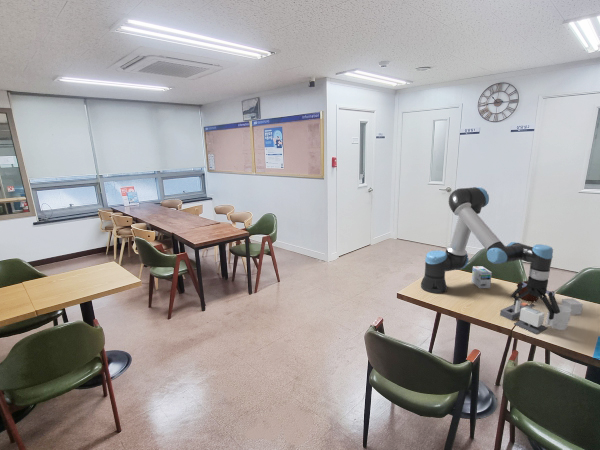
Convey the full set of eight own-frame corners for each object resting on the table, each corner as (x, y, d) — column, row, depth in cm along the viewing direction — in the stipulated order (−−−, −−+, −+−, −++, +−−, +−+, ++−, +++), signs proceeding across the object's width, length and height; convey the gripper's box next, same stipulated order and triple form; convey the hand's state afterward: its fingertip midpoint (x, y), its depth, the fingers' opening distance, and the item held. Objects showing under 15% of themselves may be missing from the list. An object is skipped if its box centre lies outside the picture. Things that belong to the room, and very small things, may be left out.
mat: (513, 324, 158) (513, 323, 157) (524, 319, 162) (525, 317, 162) (536, 334, 149) (536, 333, 149) (547, 328, 154) (547, 327, 153)
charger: (518, 322, 158) (521, 308, 156) (524, 320, 160) (526, 305, 158) (536, 330, 151) (539, 315, 149) (542, 327, 153) (544, 312, 151)
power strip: (499, 315, 166) (500, 309, 165) (527, 303, 178) (528, 297, 177) (511, 320, 161) (512, 314, 160) (539, 307, 173) (540, 301, 172)
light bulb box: (490, 288, 197) (492, 272, 195) (479, 288, 197) (481, 272, 195) (481, 281, 208) (482, 265, 205) (470, 281, 208) (472, 266, 205)
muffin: (540, 297, 184) (542, 281, 182) (540, 305, 176) (542, 288, 173) (515, 292, 191) (517, 276, 189) (514, 299, 182) (516, 283, 180)
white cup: (543, 322, 158) (546, 304, 156) (557, 321, 159) (561, 303, 157) (556, 331, 151) (560, 312, 148) (572, 330, 151) (576, 311, 149)
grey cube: (569, 314, 165) (571, 304, 164) (560, 309, 171) (562, 298, 170) (580, 314, 165) (583, 304, 164) (571, 308, 171) (573, 298, 170)
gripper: (506, 270, 158) (501, 309, 163) (566, 289, 137) (557, 332, 142) (514, 267, 162) (509, 305, 167) (574, 285, 140) (566, 328, 145)
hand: (531, 318), depth 154 cm, fingers open, 13 cm apart
